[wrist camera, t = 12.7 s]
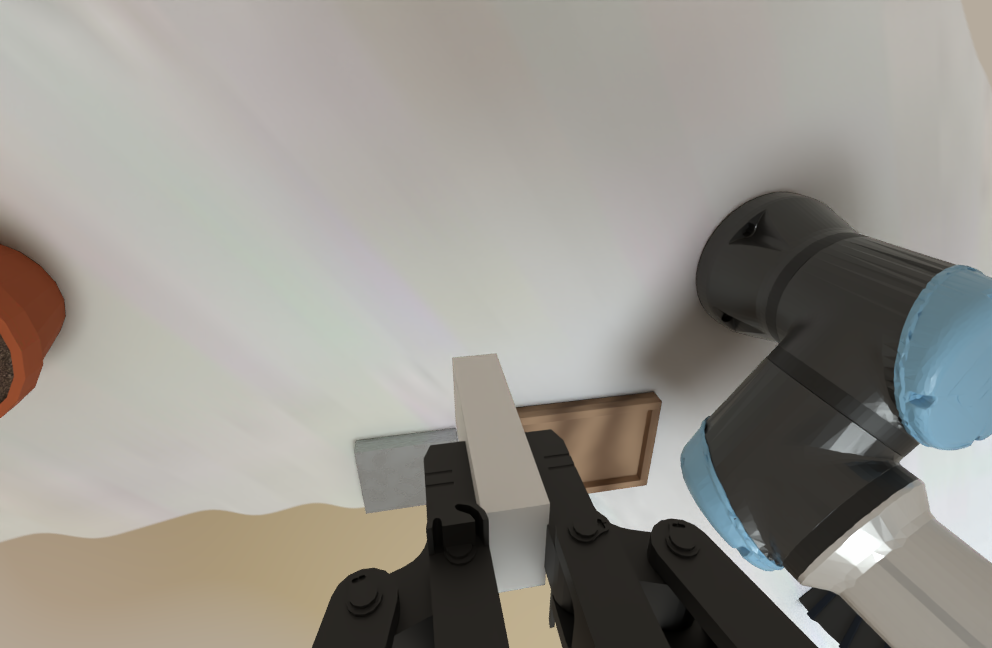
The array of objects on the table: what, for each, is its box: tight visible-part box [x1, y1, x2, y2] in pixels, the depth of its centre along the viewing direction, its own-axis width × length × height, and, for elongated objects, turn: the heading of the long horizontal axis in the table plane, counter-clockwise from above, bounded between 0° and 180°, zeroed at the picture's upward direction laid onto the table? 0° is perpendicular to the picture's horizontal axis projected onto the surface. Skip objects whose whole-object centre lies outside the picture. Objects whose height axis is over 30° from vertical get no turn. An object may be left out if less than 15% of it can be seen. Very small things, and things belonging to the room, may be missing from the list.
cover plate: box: [355, 428, 458, 513], centre depth 54 cm, size 11×9×2 cm
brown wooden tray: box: [516, 392, 662, 494], centre depth 57 cm, size 23×13×2 cm, turn 90°
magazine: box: [799, 588, 891, 648], centre depth 78 cm, size 4×13×15 cm, turn 143°
